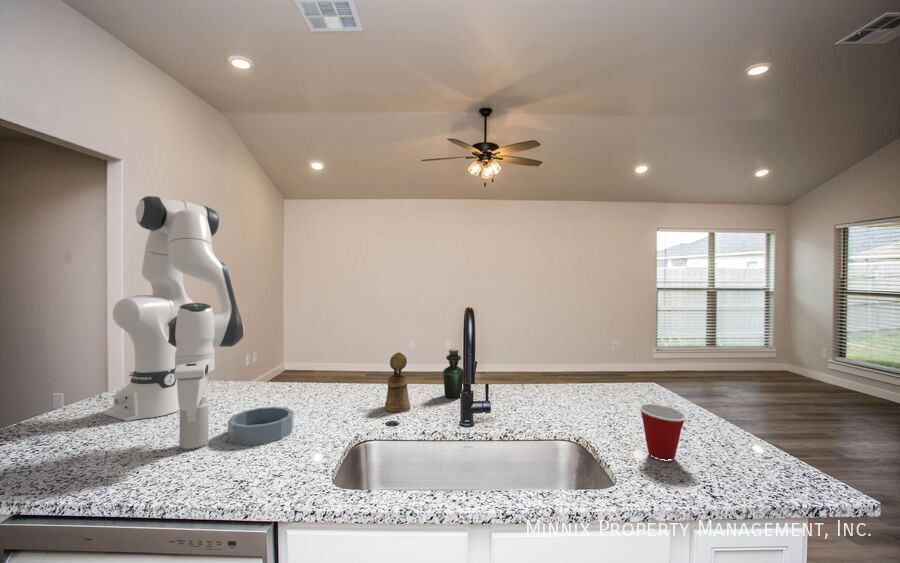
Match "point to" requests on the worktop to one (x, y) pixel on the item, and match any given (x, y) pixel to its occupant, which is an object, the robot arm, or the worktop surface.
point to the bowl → (260, 425)
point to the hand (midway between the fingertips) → (194, 417)
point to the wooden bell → (397, 386)
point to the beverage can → (194, 427)
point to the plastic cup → (662, 429)
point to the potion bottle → (453, 376)
